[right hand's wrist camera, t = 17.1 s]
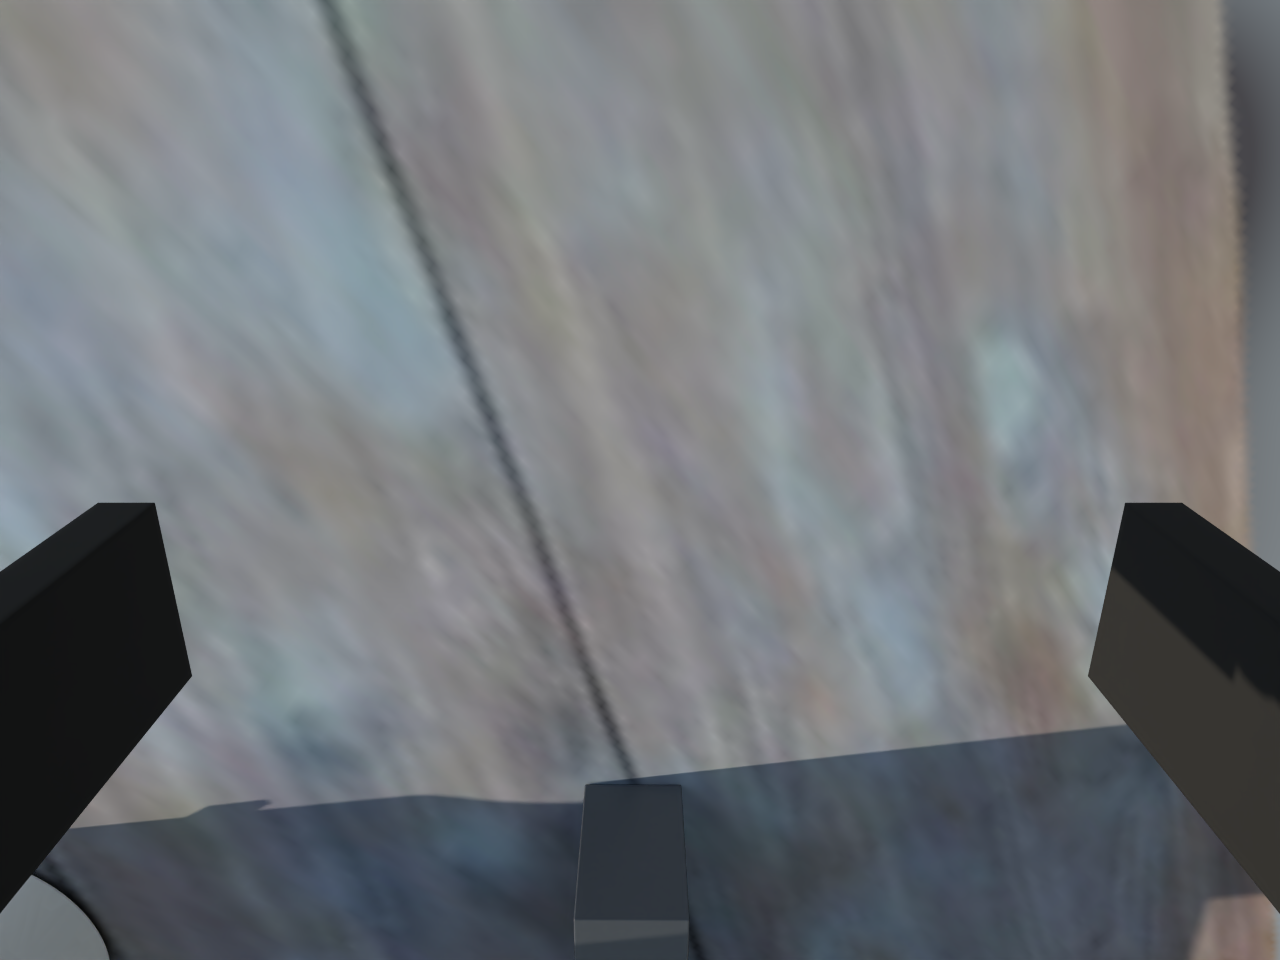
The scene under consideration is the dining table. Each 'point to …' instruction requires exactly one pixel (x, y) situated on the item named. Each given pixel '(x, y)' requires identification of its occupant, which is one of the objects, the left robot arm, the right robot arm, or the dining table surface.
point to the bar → (632, 875)
